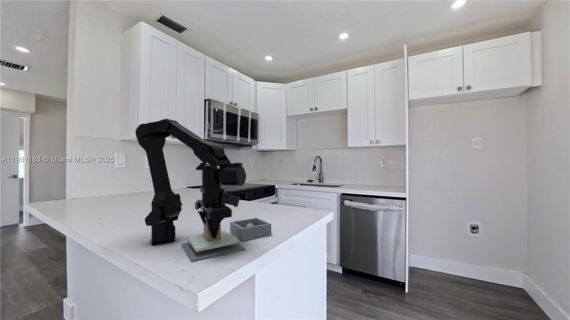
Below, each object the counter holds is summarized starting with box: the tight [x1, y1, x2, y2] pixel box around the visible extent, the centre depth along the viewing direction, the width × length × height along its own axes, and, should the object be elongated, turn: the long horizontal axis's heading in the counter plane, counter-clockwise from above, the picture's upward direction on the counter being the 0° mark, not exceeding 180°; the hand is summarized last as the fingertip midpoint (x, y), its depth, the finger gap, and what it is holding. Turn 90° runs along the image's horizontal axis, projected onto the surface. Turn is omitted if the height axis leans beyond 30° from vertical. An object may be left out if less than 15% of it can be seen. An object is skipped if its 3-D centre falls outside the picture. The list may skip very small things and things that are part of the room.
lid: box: [186, 223, 239, 252], centre depth 70 cm, size 12×12×5 cm
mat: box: [180, 241, 246, 263], centre depth 70 cm, size 15×15×1 cm
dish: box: [229, 217, 272, 242], centre depth 82 cm, size 11×11×4 cm
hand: (212, 236), depth 70 cm, fingers closed on lid, 4 cm apart
